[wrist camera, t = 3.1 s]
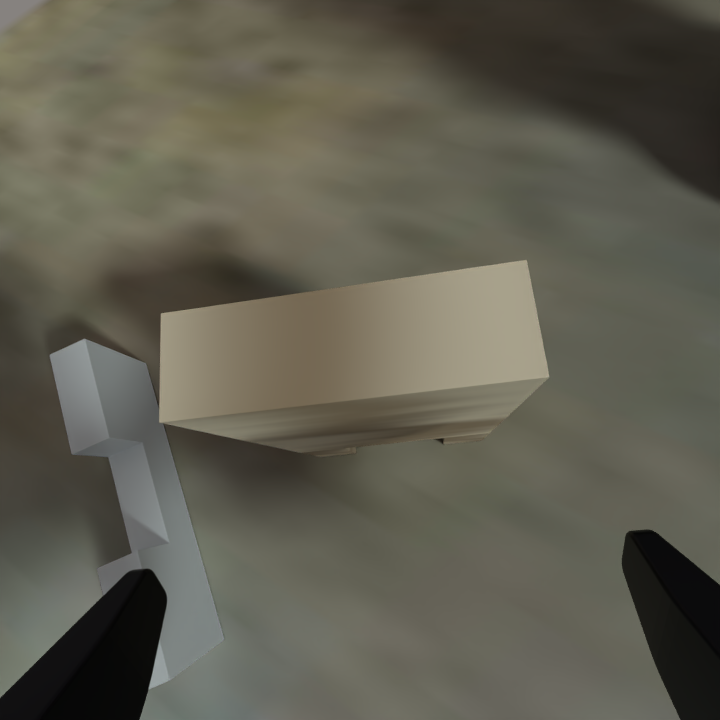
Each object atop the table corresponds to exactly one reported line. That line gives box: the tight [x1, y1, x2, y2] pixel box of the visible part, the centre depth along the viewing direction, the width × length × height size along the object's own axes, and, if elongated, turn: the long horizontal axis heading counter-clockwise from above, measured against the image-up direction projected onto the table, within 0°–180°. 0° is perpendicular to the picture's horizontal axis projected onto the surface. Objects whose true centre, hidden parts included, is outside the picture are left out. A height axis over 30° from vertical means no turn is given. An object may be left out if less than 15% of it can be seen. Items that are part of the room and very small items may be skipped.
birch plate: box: [159, 260, 549, 457], centre depth 14 cm, size 6×2×12 cm, turn 96°
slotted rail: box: [50, 339, 224, 689], centre depth 19 cm, size 12×2×4 cm, turn 23°
